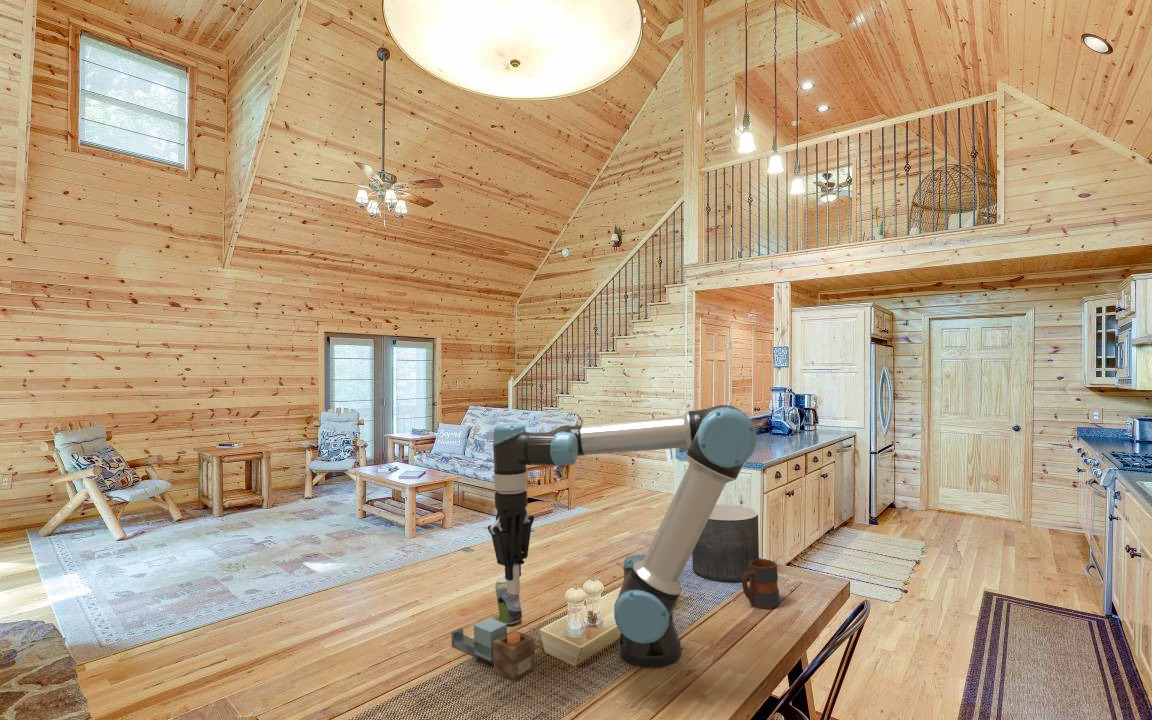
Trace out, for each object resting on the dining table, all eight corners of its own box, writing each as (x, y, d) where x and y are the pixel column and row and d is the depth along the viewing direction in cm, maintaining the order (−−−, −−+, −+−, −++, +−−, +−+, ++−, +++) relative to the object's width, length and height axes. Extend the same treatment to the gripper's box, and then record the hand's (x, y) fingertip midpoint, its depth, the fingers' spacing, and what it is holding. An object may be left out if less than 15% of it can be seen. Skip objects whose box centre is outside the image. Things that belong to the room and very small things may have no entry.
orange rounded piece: (523, 650, 133) (522, 635, 133) (513, 655, 131) (513, 639, 131) (514, 646, 135) (513, 631, 135) (504, 651, 133) (504, 636, 133)
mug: (733, 603, 168) (732, 563, 168) (764, 595, 173) (763, 556, 173) (753, 614, 160) (752, 572, 160) (786, 606, 165) (785, 565, 165)
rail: (509, 663, 136) (509, 648, 136) (500, 668, 134) (499, 653, 134) (461, 641, 148) (460, 627, 148) (451, 645, 145) (451, 631, 145)
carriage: (507, 652, 138) (506, 624, 138) (491, 661, 134) (490, 632, 134) (490, 645, 142) (490, 617, 142) (474, 653, 138) (473, 625, 138)
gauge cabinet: (535, 668, 133) (535, 638, 133) (513, 681, 128) (513, 649, 128) (515, 659, 138) (514, 630, 138) (493, 671, 132) (493, 641, 132)
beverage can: (518, 627, 155) (517, 583, 155) (492, 626, 156) (491, 581, 156) (525, 617, 161) (524, 574, 161) (500, 616, 162) (499, 573, 163)
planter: (757, 562, 203) (755, 505, 203) (762, 585, 181) (760, 521, 182) (693, 558, 208) (691, 503, 208) (691, 581, 186) (689, 518, 187)
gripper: (519, 484, 141) (522, 580, 140) (478, 493, 131) (481, 597, 130) (541, 487, 136) (544, 587, 136) (501, 497, 126) (503, 605, 126)
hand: (513, 592), depth 133 cm, fingers closed
